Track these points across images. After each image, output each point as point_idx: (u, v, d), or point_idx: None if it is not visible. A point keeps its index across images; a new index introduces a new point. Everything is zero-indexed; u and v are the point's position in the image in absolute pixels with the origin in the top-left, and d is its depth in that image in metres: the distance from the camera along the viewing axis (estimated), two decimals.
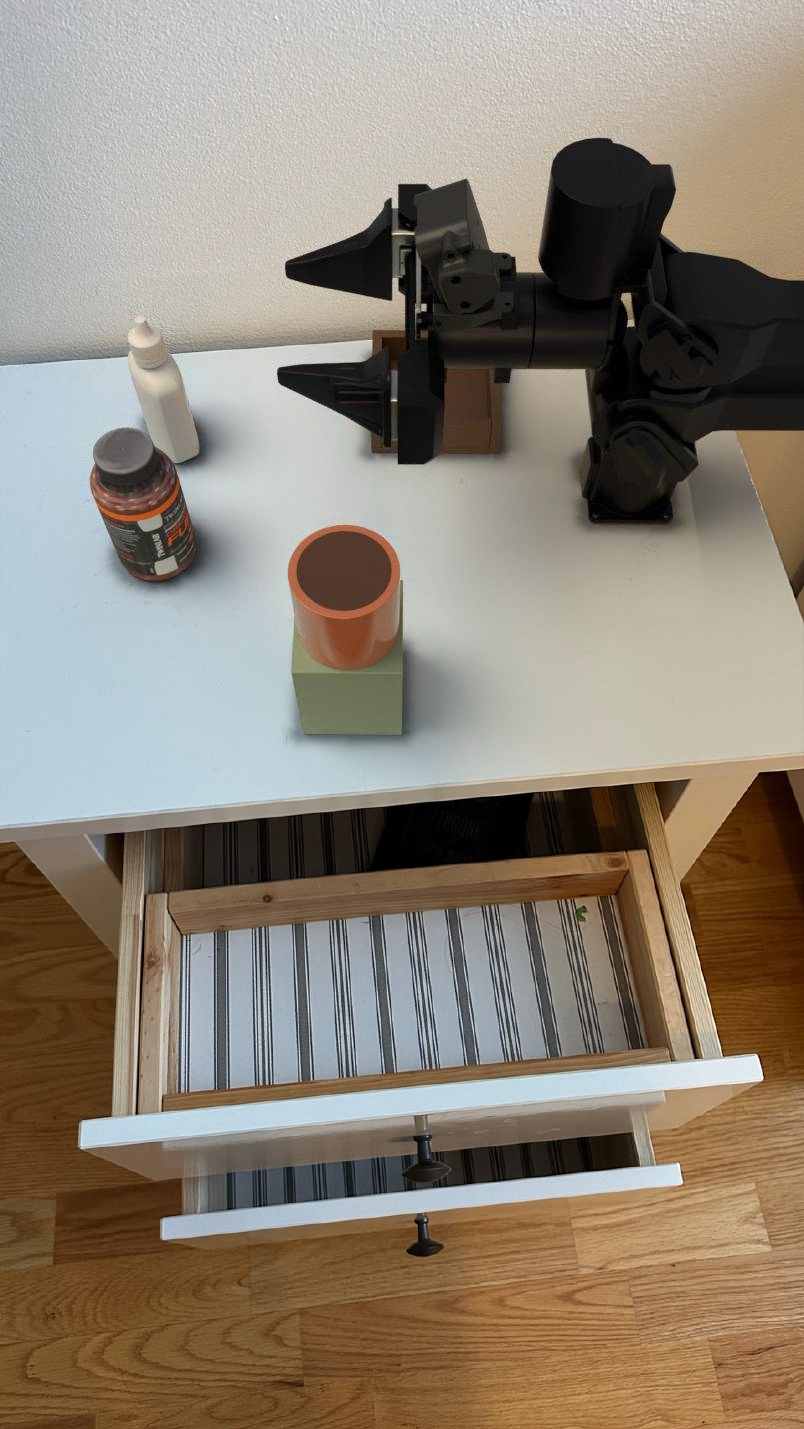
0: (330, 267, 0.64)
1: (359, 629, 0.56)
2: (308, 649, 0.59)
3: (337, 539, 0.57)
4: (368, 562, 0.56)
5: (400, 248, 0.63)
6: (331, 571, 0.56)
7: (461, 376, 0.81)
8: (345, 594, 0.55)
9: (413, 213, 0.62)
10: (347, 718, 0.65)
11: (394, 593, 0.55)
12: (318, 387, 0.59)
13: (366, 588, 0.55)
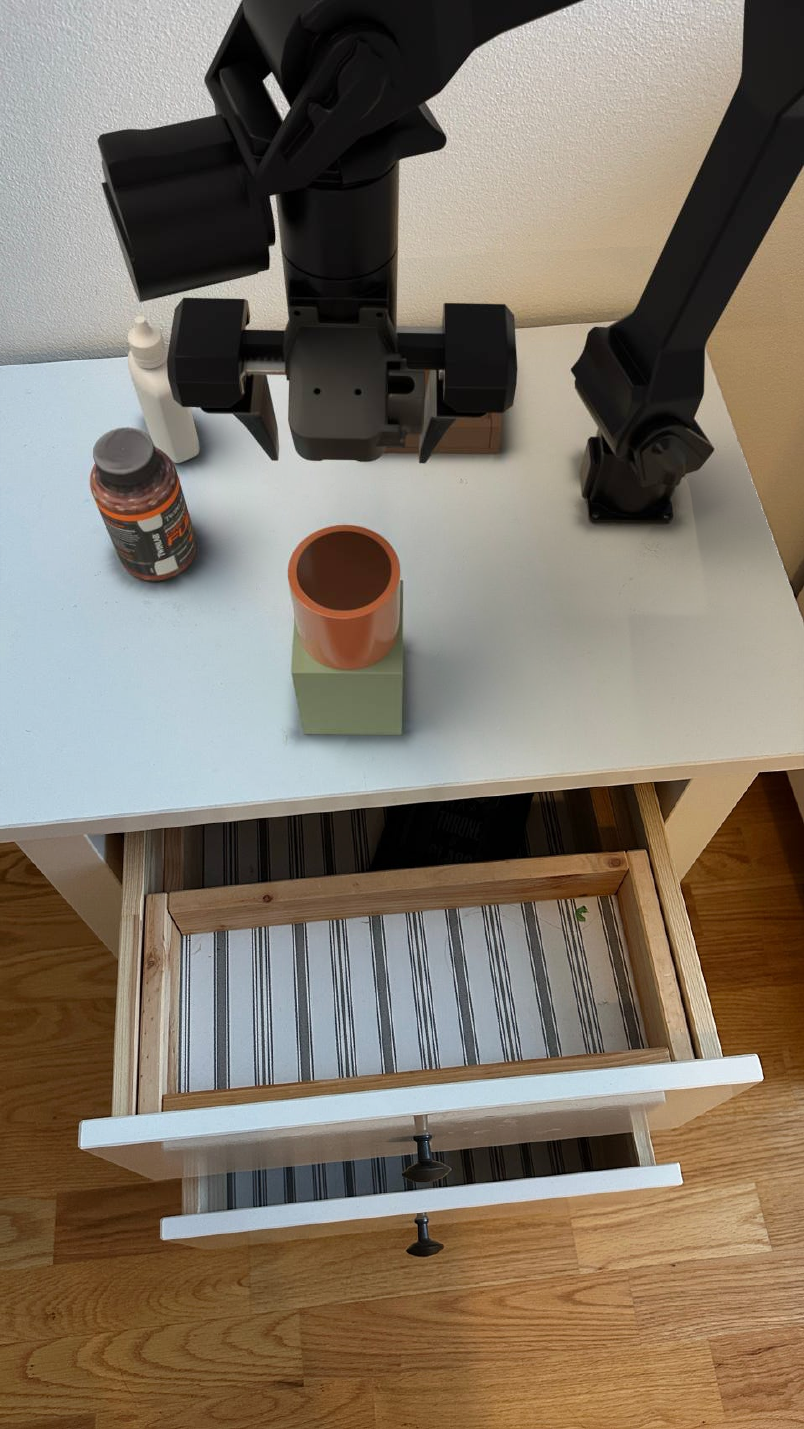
0: None
1: (359, 629, 0.56)
2: (308, 649, 0.59)
3: (337, 539, 0.57)
4: (368, 562, 0.56)
5: (245, 377, 0.54)
6: (331, 571, 0.56)
7: None
8: (345, 594, 0.55)
9: (230, 394, 0.53)
10: (347, 718, 0.65)
11: (394, 593, 0.55)
12: None
13: (366, 588, 0.55)
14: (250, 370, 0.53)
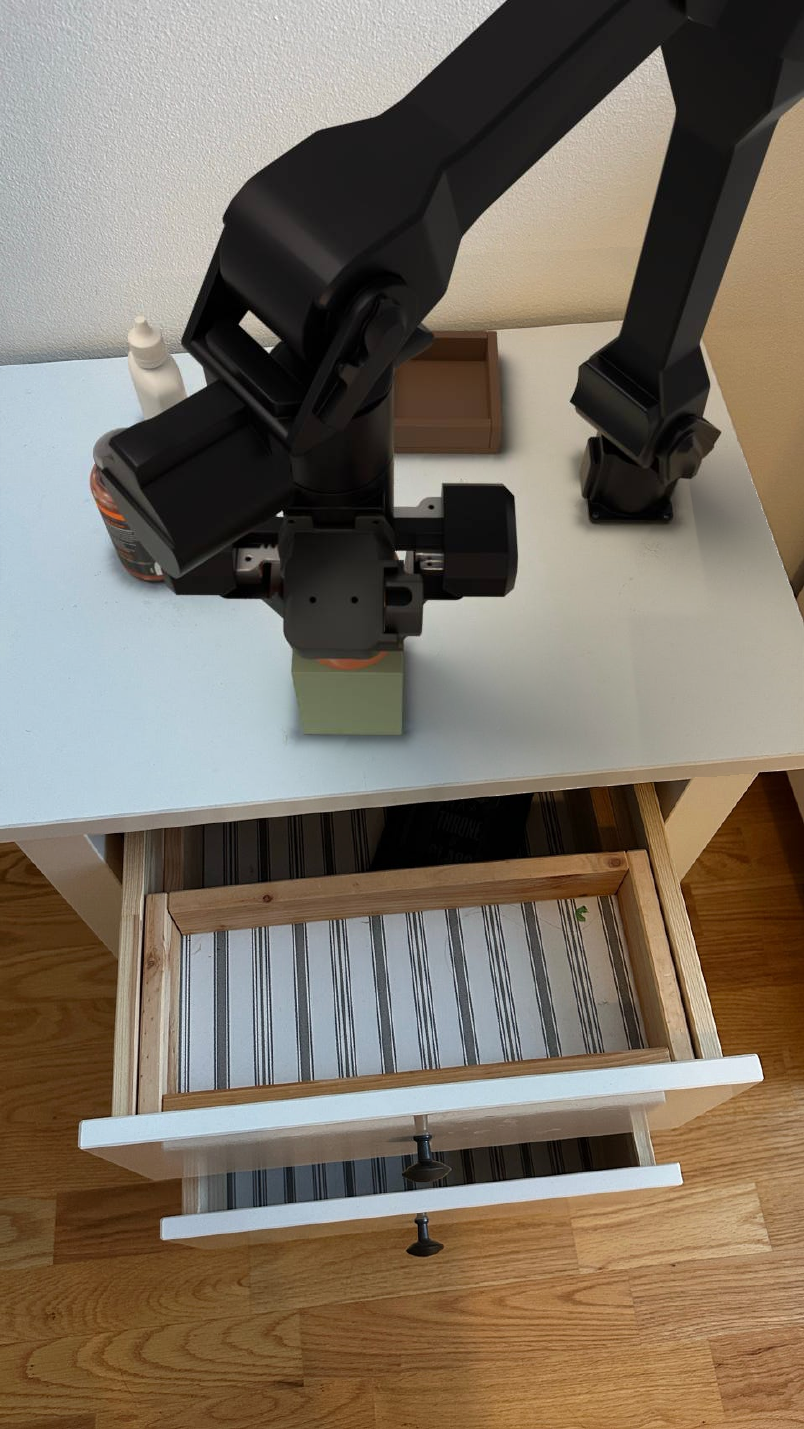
0: None
1: None
2: None
3: None
4: None
5: None
6: None
7: (461, 376, 0.81)
8: None
9: (225, 585, 0.51)
10: (347, 718, 0.65)
11: None
12: None
13: None
14: (269, 559, 0.52)
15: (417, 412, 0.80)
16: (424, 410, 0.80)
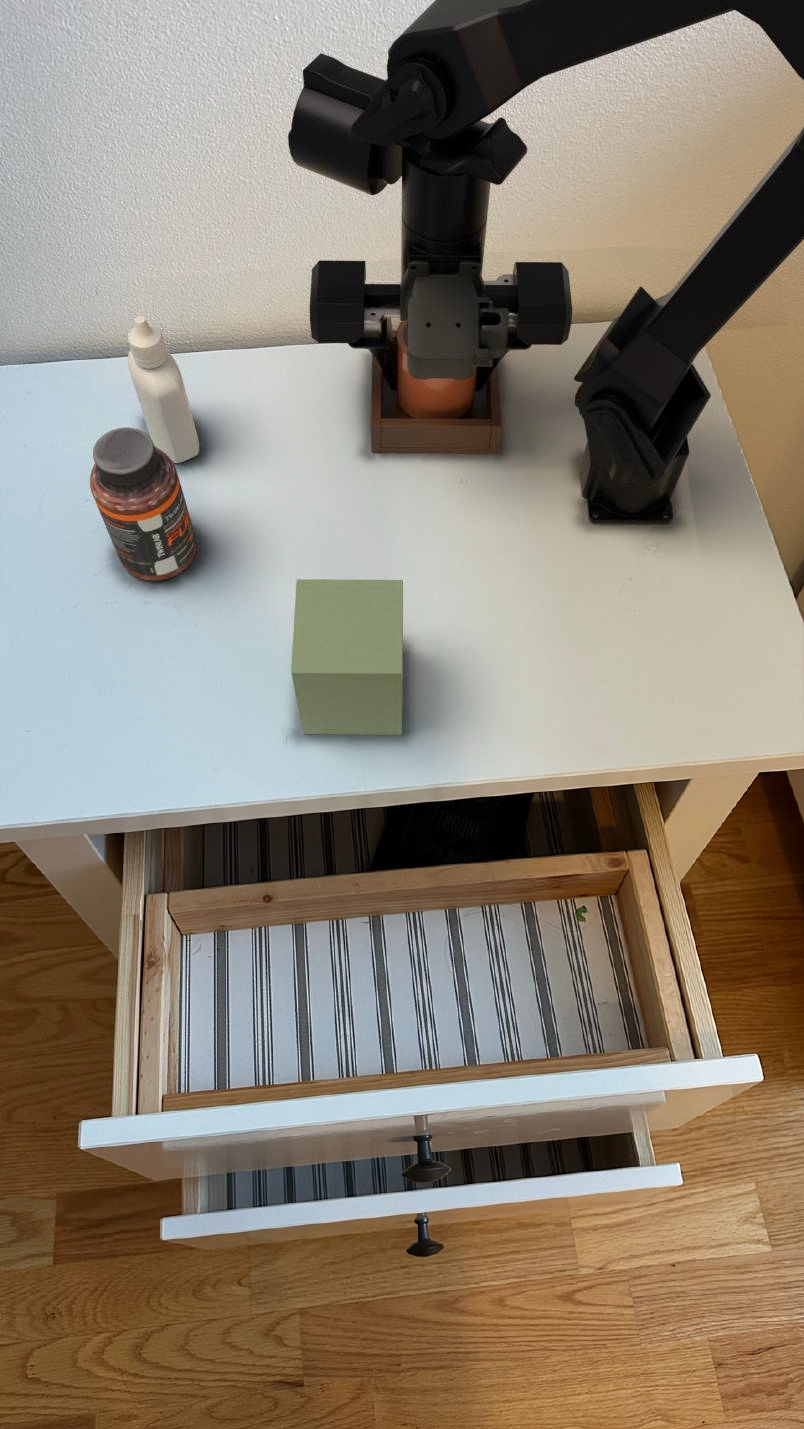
0: None
1: (450, 379, 0.74)
2: (407, 406, 0.78)
3: None
4: None
5: None
6: None
7: None
8: None
9: (356, 332, 0.70)
10: (347, 718, 0.65)
11: None
12: None
13: None
14: (389, 314, 0.70)
15: None
16: None
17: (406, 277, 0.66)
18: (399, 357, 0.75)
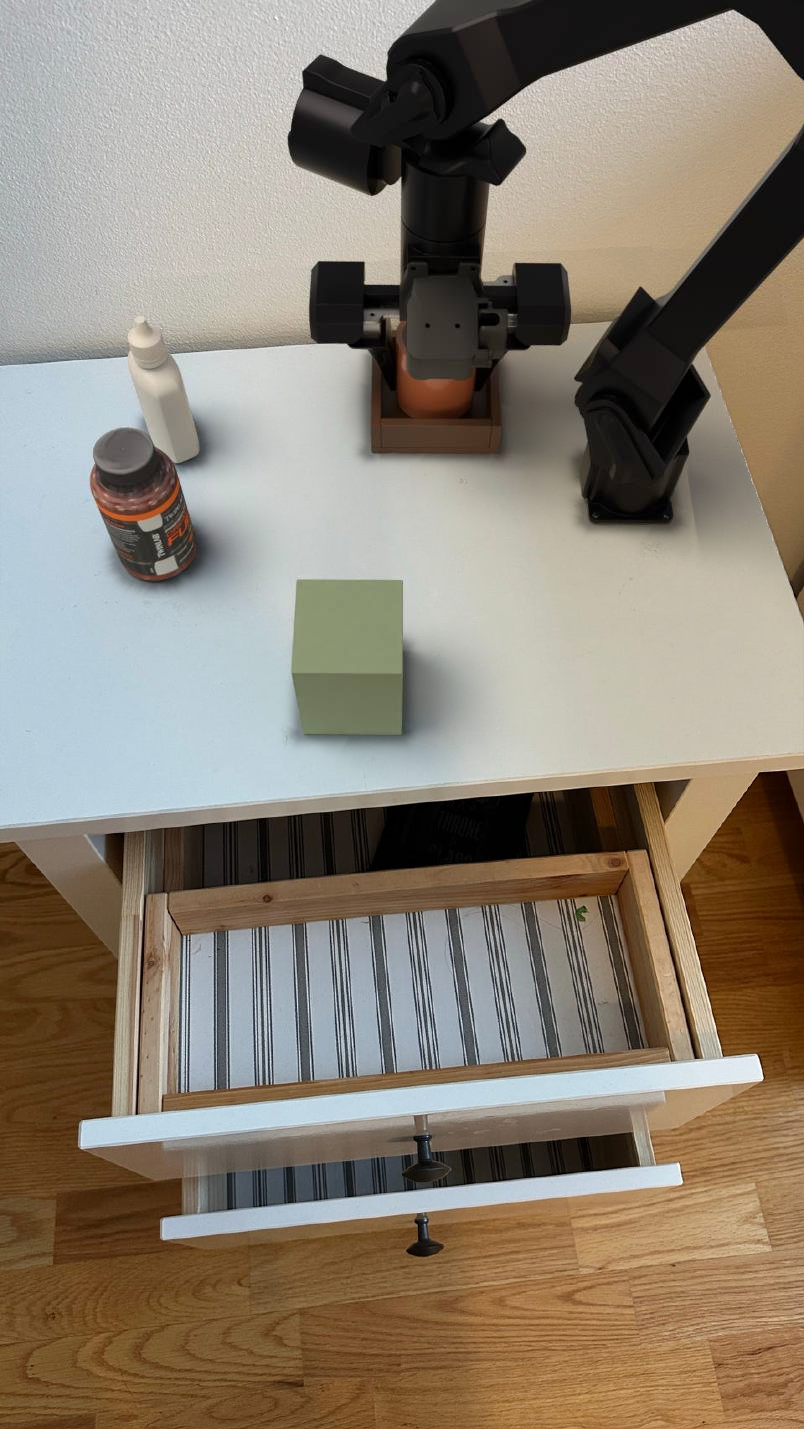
0: None
1: (449, 380, 0.74)
2: (406, 406, 0.78)
3: None
4: None
5: None
6: None
7: None
8: None
9: (355, 333, 0.70)
10: (347, 718, 0.65)
11: None
12: None
13: None
14: (388, 315, 0.70)
15: None
16: None
17: (405, 278, 0.66)
18: (398, 358, 0.75)
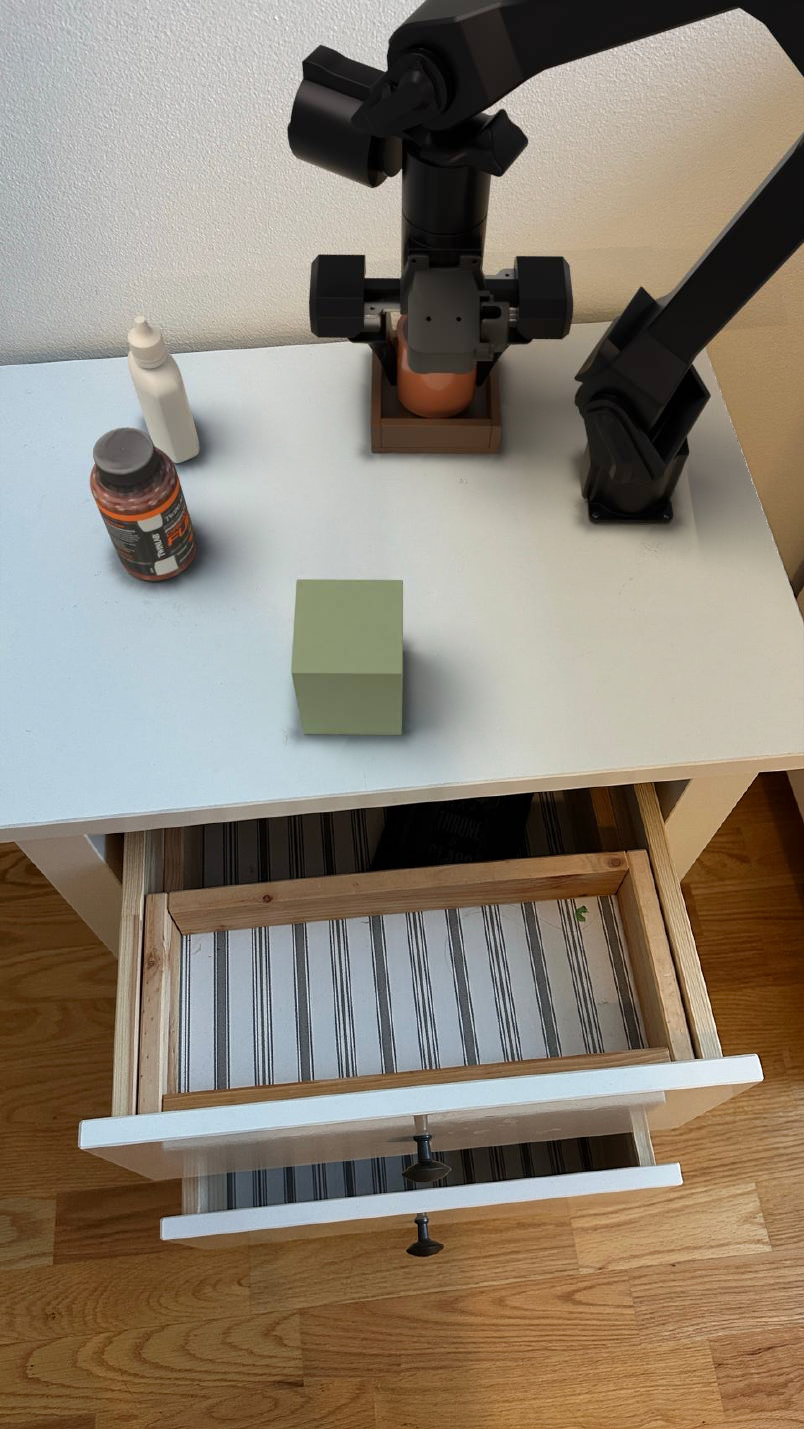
0: None
1: (450, 374, 0.74)
2: (407, 401, 0.77)
3: None
4: None
5: None
6: None
7: None
8: None
9: (356, 327, 0.70)
10: (347, 718, 0.65)
11: None
12: None
13: None
14: (388, 308, 0.70)
15: None
16: None
17: (406, 271, 0.65)
18: (399, 352, 0.74)
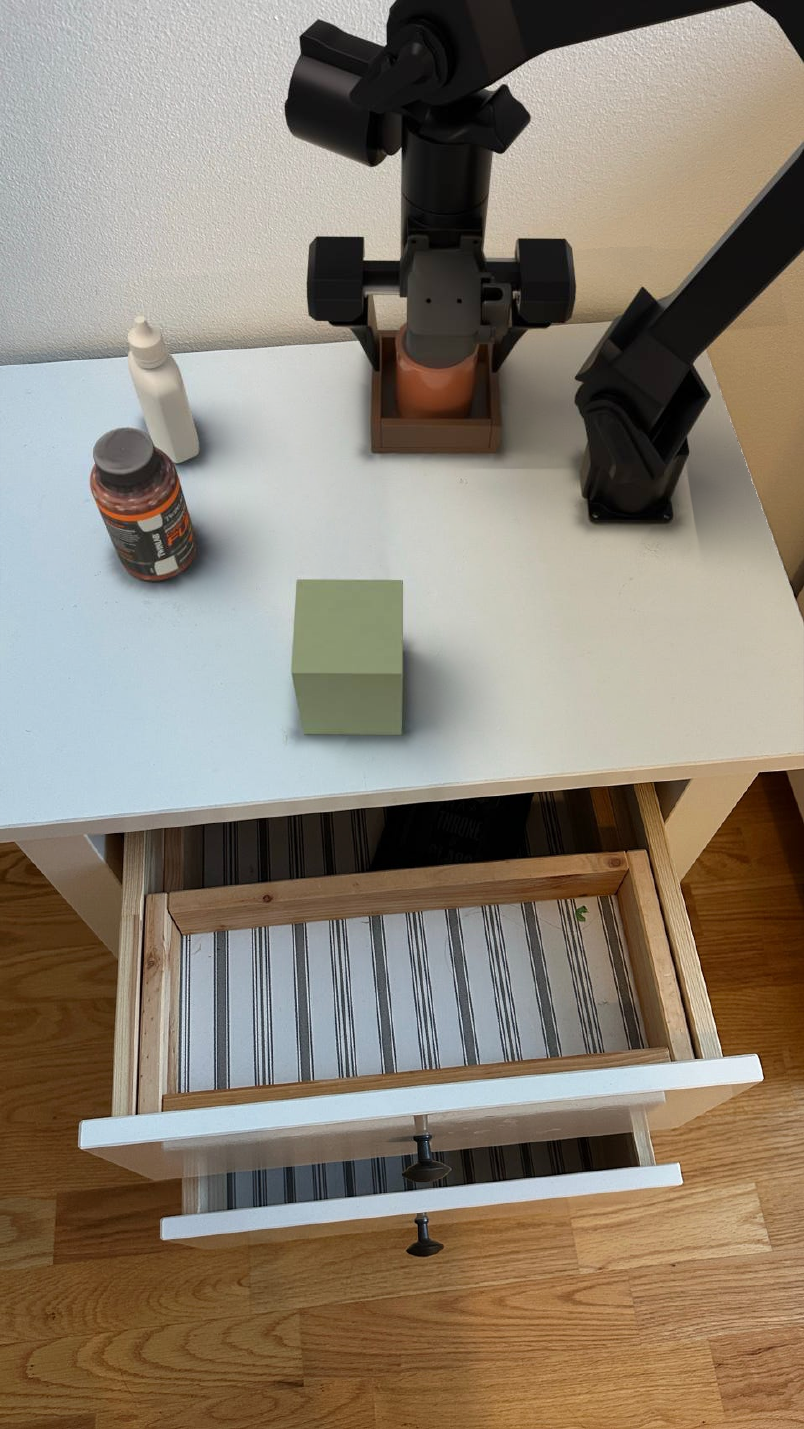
0: None
1: (448, 386, 0.75)
2: (406, 412, 0.78)
3: None
4: None
5: (363, 298, 0.70)
6: None
7: None
8: (439, 358, 0.74)
9: (354, 310, 0.68)
10: (347, 718, 0.65)
11: (475, 358, 0.74)
12: None
13: None
14: (369, 291, 0.68)
15: None
16: None
17: (406, 252, 0.64)
18: (398, 364, 0.75)
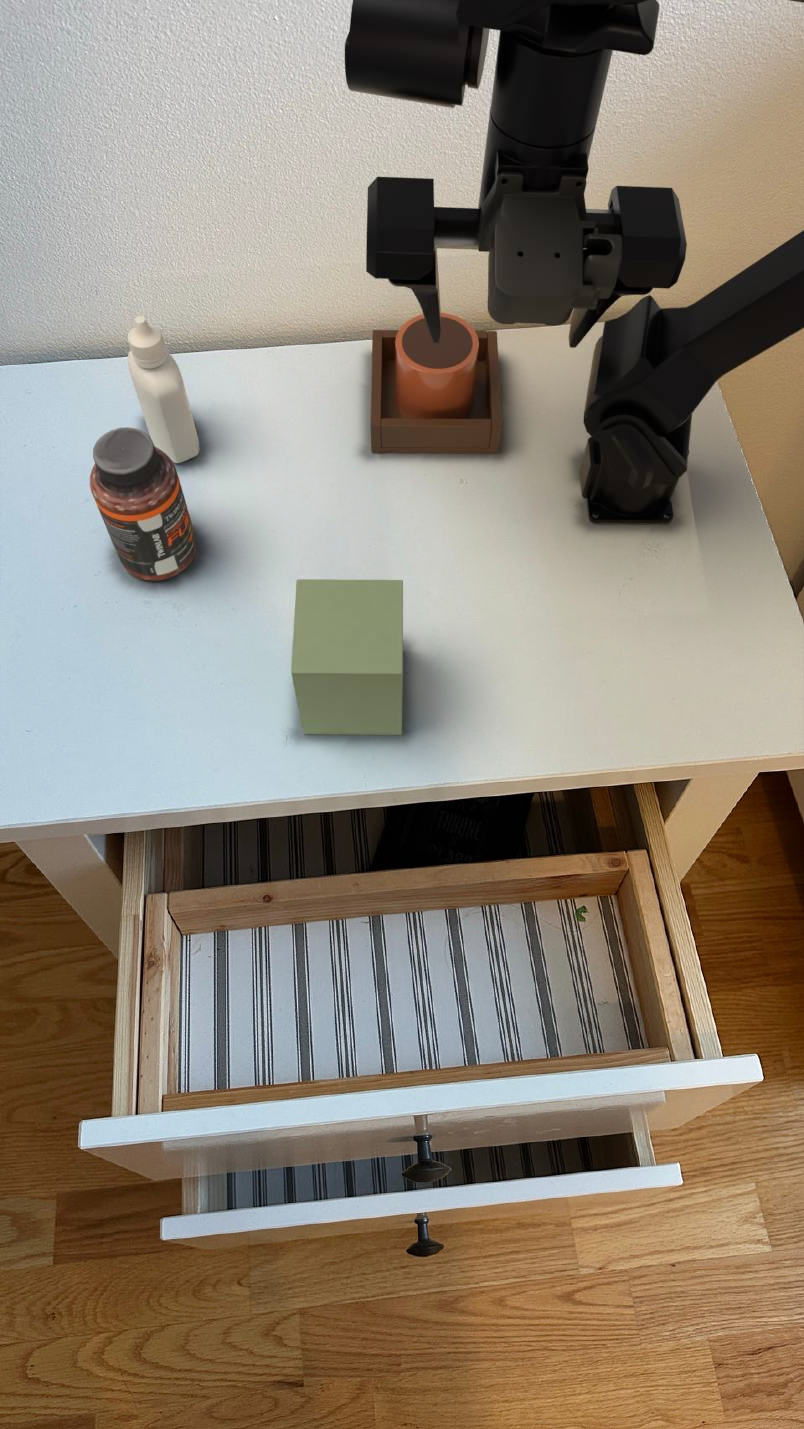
0: None
1: (448, 386, 0.75)
2: (406, 412, 0.78)
3: None
4: (455, 337, 0.75)
5: None
6: (428, 343, 0.75)
7: None
8: (439, 358, 0.74)
9: (423, 266, 0.57)
10: (347, 718, 0.65)
11: (475, 358, 0.74)
12: None
13: (454, 354, 0.74)
14: (441, 244, 0.57)
15: None
16: None
17: (493, 194, 0.53)
18: (398, 364, 0.75)
